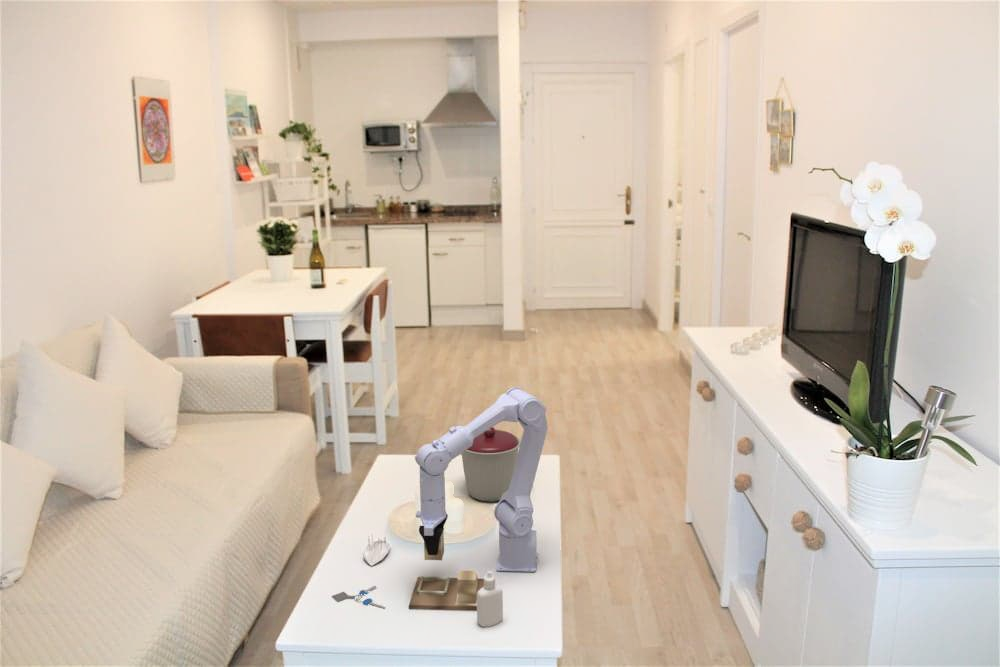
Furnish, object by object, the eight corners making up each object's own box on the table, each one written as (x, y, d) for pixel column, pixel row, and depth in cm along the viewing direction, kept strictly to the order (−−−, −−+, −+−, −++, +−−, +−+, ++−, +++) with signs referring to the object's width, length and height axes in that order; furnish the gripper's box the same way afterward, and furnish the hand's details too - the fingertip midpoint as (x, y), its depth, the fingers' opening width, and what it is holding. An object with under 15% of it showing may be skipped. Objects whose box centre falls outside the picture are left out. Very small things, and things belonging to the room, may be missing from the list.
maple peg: (444, 551, 197) (443, 528, 196) (441, 560, 193) (440, 536, 192) (427, 551, 197) (426, 528, 196) (424, 559, 194) (423, 536, 192)
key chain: (328, 602, 191) (327, 598, 190) (343, 583, 198) (343, 580, 198) (384, 610, 187) (384, 607, 187) (398, 591, 195) (398, 588, 195)
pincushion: (383, 568, 205) (382, 547, 204) (359, 567, 205) (358, 546, 204) (394, 544, 216) (393, 524, 215) (371, 543, 217) (370, 523, 216)
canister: (466, 511, 235) (464, 440, 230) (454, 485, 252) (452, 419, 247) (528, 503, 239) (527, 434, 234) (512, 479, 256) (511, 414, 251)
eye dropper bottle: (477, 616, 184) (476, 567, 181) (502, 615, 184) (502, 566, 181) (476, 627, 180) (475, 577, 177) (502, 627, 180) (502, 577, 177)
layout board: (484, 582, 197) (484, 555, 196) (480, 610, 186) (479, 582, 184) (417, 580, 199) (416, 554, 197) (409, 608, 187) (407, 580, 185)
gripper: (420, 482, 199) (422, 534, 202) (409, 509, 185) (411, 564, 188) (450, 483, 198) (451, 535, 202) (441, 510, 184) (442, 565, 188)
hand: (434, 549), depth 195 cm, fingers closed on maple peg, 4 cm apart
